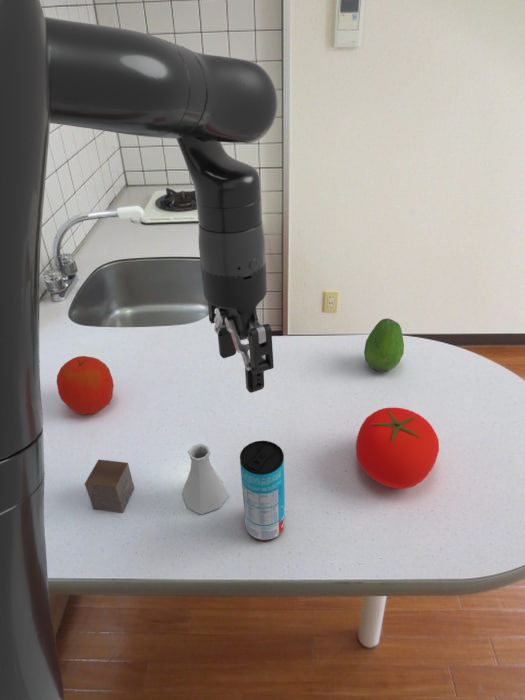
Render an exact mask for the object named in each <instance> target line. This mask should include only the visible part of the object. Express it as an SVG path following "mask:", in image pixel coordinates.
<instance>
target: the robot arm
mask: <svg viewBox="0 0 525 700" xmlns="http://www.w3.org/2000/svg"><path fill="white" fill-rule="evenodd" d="M43 9H44V8H43V7H42V3H41V0H0V700H65V694H64V685H63V684H64V683H63V676H62V670H61V665H60V659H59V653H58V652H59V651H58V647H57V642H56V641H57V640H56V635H55V629H54V623H53V622H54V621H53V617H52V609H51V601H50V589H49V576H48V561H47V559H48V558H47V545H46V531H45V529H46V528H45V475H46V473H45V446H44V443H45V442H44V441H45V440H44V416H43V405H42V404H43V403H42V391H41V369H40V366H41V365H40V271H41V270H40V267H41V266H40V263H41V245H42V244H41V243H42V230H43V228H42V227H43V216H44V215H43V214H44V204H45V191H46V180H47V179H46V178H47V166H48V154H49V142H50V130H51V124H53V125H63V126H71V127H77V128H82V129H91V130H96V131H97V130H98V131H104V132H110V133H116V134H122V135H130V136H137V137H146V138H160V139H176V141H177V144H178V147H179V149H180V152H181V154H182V157H183V160H184V163H185V165H186V168H187V172H188V174H189V176H190V179H191V181H192V184H193V187H194V191H195V192H194V194H195V202H196V210H197V211H196V212H197V220H198V251H199V261H200V269H201V280H202V288H203V295H204V298H205V300H206V301H207V310H208V321H209V322H210V324H211V325H212V324H214V332H215V334H217V341H218V353H219V355H220V357H221V358H222V359H226V358H229V357H233V356H235V355H236V354H237V353H238V354H240V355H241V358H242V361H243V364H244V376H245V388H246V390H247V391H248V392H249V393H250V394H253V393H256V392H257V391H260V390H263V389H264V387H265V374H264V373H265V372H266V371H269V370H272V369H274V367H275V365H274V350H273V333H272V327H271V325H270V324H269V323H265V324H260V317H259V313H258V311H257V306H258V305H259V304H260V303H261V302H262V300H264V298H265V297H266V295H267V292H268V287H267V286H268V283H267V256H266V255H267V254H266V253H267V251H266V236H265V231H264V225H263V224H264V223H263V203H262V201H263V200H262V182H261V176H260V173H259V172H258V170H257V169H256V168H255V167H253V166H252V165H250V164H248V163H245V162H243V161H240V160H238V159H235V158H233V157H232V156H230V155H229V154H228V153H227V151H226V149H225V148H224V146H223V144H222V143H231V144H243V145H246V144H249V145H250V144H253V143H256V142H258V141H260V140H261V139H263V138H264V137H265V136H266V135H267V134H268V133H269V132H270V130H271V129H272V127H273V125H274V123H275V121H276V119H277V114H278V108H279V106H278V105H279V104H278V103H279V102H278V101H279V100H278V94H277V89H276V86H275V83H274V81H273V80H272V78H271V76H270V75H269V73H268V72H267V71H266V70H265V69H264V68H263V67H262V66H261V65H259V64H258V63H256V62H253V61H250V60H246V59H242V58H236V57H229V56H222V55H213V54H207V53H206V54H205V53H202V52H198V51H193V50H191V49H189V48H187V47H185V46H183V45H179V44H177V43H174V42H171V41H168V40H166V39H164V38H163V39H162V38H161V37H158V36H156V35H155V36H154V35H152V34H149V33H145V32H141V31H136V30H131V29H128V28H120V27H116V26H115V27H113V26H107V25H101V24H96V23H95V24H94V23H88V22H81V21H73V20H66V19H61V18H55V17H48V16H45V13H44V10H43ZM245 340H247V341H248V343H246V344H244V343H242V341H245Z"/></svg>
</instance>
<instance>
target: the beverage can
mask: <svg viewBox="0 0 525 700" xmlns="http://www.w3.org/2000/svg"><path fill="white" fill-rule="evenodd" d="M284 457H285V455H284V451H283V449H282V448H281V447H280V446H279V445H278V444H277V443H275V442H272V441H269V440H256V441H253V442H250V443H248V444H247V445H245V446H244V447H243V449H242V450H241V451H240V453H239V463H240V465H239V466H240V478H241V479H240V480H241V488H242V489H241V490H242V500H243V510H244V511H243V513H244V521H245V524H244V525H245V529H246V531H247V533H248V534H249V535H250V536H251V537H252V538H253V539H254V540H257V541H259V542H271V541H273V540H275V539H277V538H278V537H279V536H281V534H282V533H283V531H284V529H285V527H286V509H285V507H286V506H285V503H286V501H285V499H286V497H285V496H286V495H285V492H286V491H285V460H284V459H285V458H284Z"/></svg>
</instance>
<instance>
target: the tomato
mask: <svg viewBox="0 0 525 700" xmlns="http://www.w3.org/2000/svg"><path fill="white" fill-rule="evenodd" d="M355 441H356V442H355V455H356V459H357V461H358V463H359V465H360V467H361V469H362V470H363V471H364V473H365V474H366V475H367V476H368V477H369V478H371V479H372V480H374V481H375V482H377V483H379V484H381V485H382V486H385V487H388V488H391V489H408V488H412V487H413V488H414V487H415V486H417V485H418V484H420V483H421V482H423V481H424V480H425V479H426V478H427V477H428V475H429V474H430V472H431V470H433V468H434V466H435V464H436V462H437V459H438V455H439V452H440V443H439V441H440V440H439V436H438V435H437V433H436V431H435V429H434V428H433V426H432V424H431V423H430V422H429V420H427V419H426V418H425V417H424V416H421V415H420V414H419V413H417V412H416V411H413V410H409V409H407V408H402V407H383V408H381V409H377V410H376V411H374V412H372V413H371V414H370V415H368V416H367V417H366V418H365V419H364V421H363V422H362V424H361V425H360V428H359V430H358V433H357V436H356V440H355Z"/></svg>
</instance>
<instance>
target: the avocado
mask: <svg viewBox="0 0 525 700" xmlns="http://www.w3.org/2000/svg"><path fill="white" fill-rule="evenodd" d="M404 350H405V343H404V337H403V330H402V327H401V325H400V324H399V322H397V321H395V320H393V319H391V318H389V317H388V318H382V319H381V320H379V321H378V322H377V324H376V325H375V326H374V327H373V329H372V330H371V331H370V333H369V335H368V337H367V338H366V340H365V345H364V351H363V355H364V359H365V362H366V364H367V365H368V366H369V367H370V368H372V369H374V370H375V371H378V372H390V371H391V370H394V369H395V368H396V367H397V366H398V365H399V364H400V362H401V360H402V358H403V355H404Z"/></svg>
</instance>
